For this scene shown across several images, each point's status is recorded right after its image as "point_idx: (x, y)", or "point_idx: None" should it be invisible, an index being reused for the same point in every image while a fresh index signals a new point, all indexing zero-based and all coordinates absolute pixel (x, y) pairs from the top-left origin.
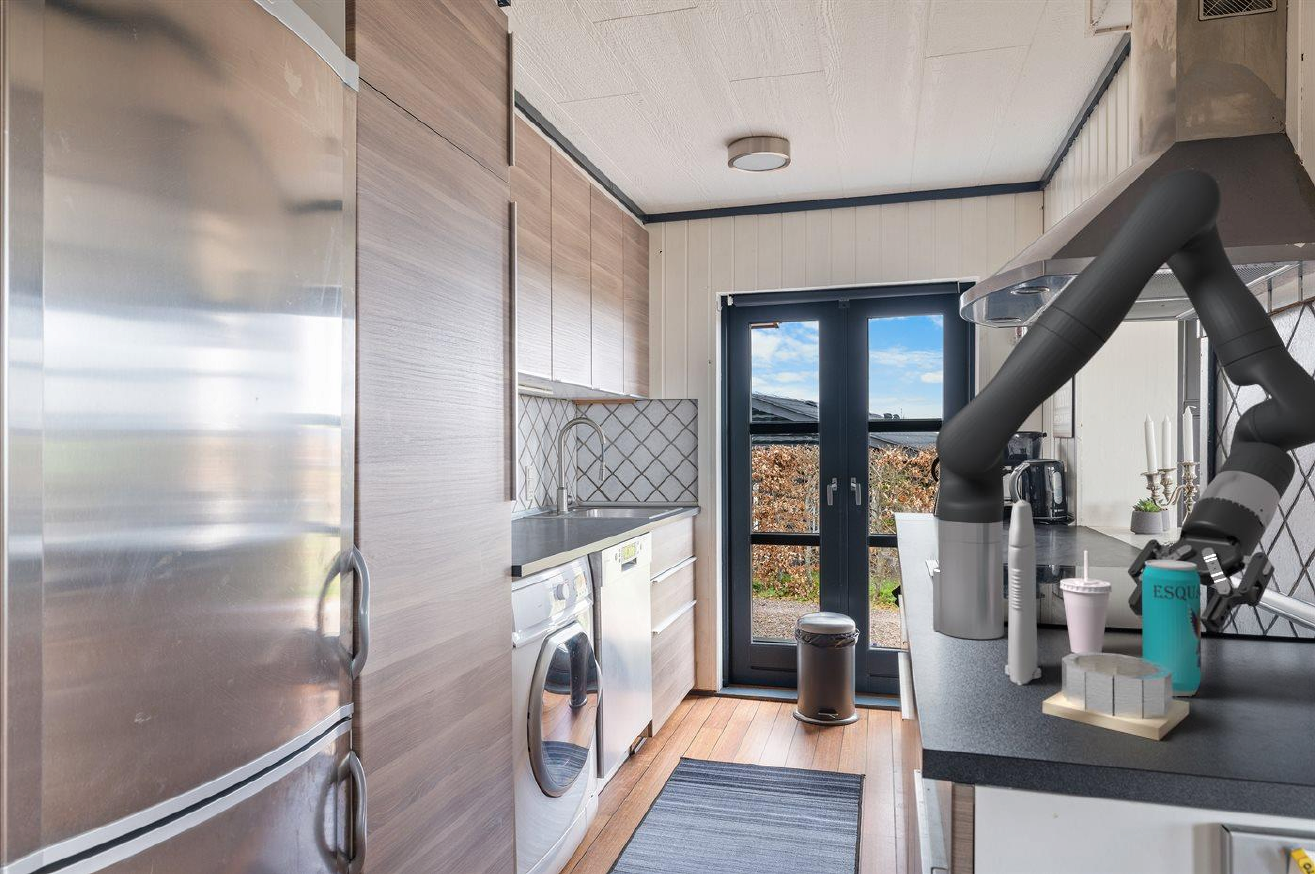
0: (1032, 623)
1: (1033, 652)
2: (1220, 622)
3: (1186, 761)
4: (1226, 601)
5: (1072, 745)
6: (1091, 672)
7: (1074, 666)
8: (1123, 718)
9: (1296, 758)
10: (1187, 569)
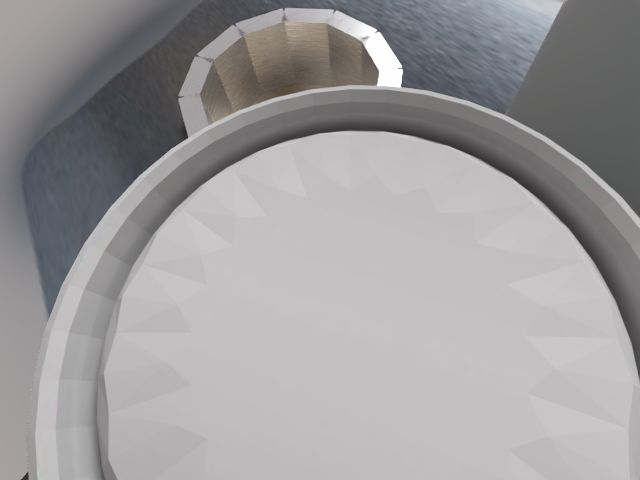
0: (603, 55)
1: (557, 124)
2: None
3: (135, 90)
4: (27, 477)
5: (245, 18)
6: (275, 14)
7: (320, 14)
8: None
9: (39, 225)
10: (106, 279)
